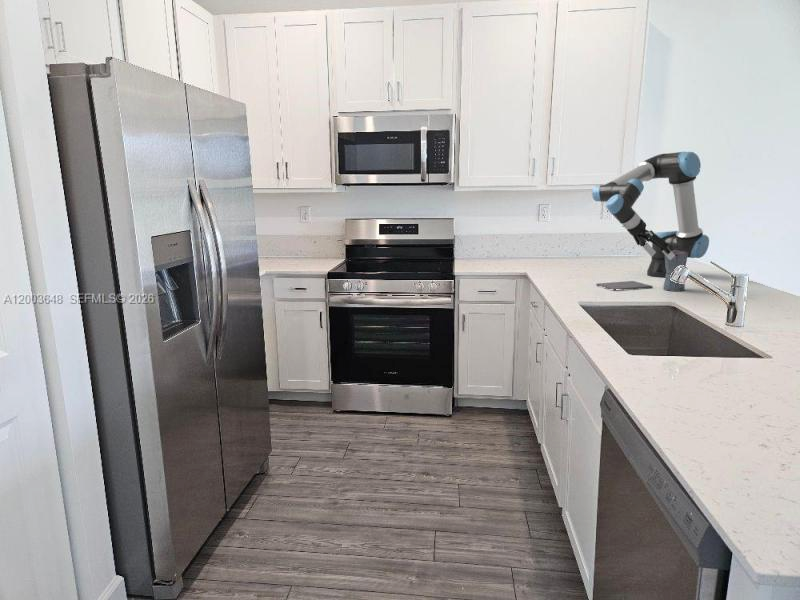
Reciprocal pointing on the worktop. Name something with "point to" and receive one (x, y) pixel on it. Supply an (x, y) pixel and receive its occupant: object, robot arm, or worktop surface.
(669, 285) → the moka pot
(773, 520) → the worktop surface
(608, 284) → the charcoal mat
